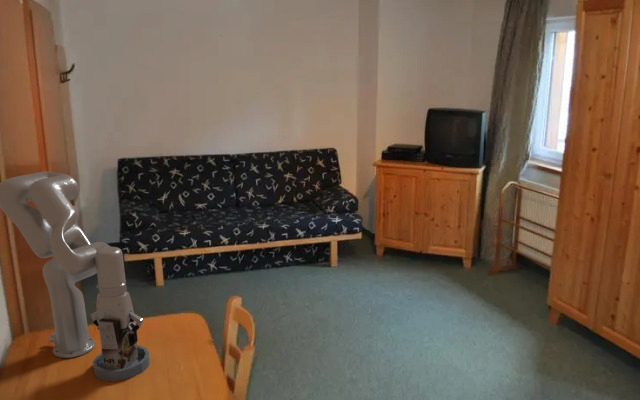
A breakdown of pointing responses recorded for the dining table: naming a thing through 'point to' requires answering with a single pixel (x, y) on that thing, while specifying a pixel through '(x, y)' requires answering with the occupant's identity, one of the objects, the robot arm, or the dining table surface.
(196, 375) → the dining table surface
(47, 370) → the dining table surface
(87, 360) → the dining table surface
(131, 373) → the bowl
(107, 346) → the coffee box
